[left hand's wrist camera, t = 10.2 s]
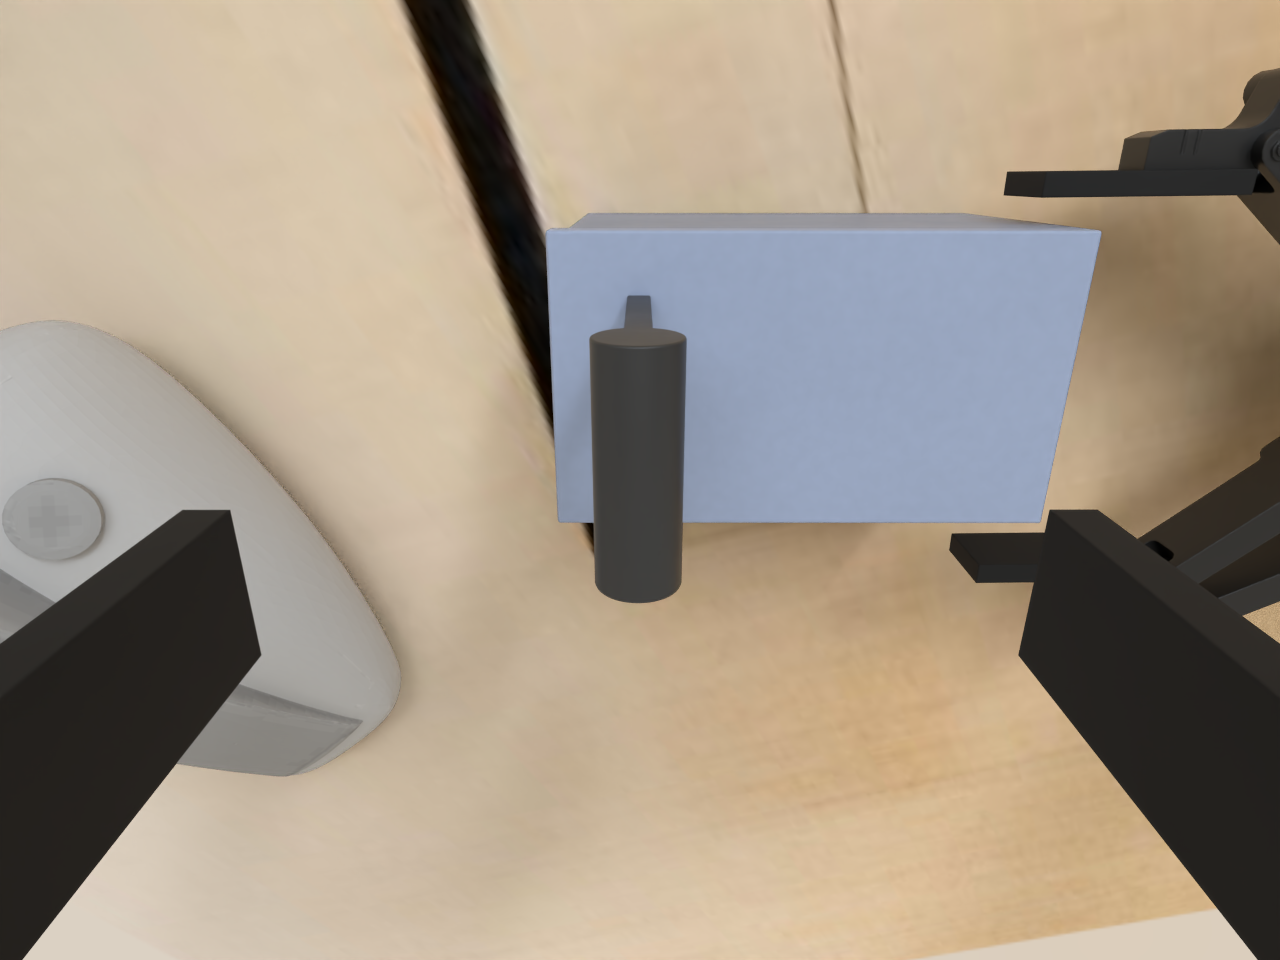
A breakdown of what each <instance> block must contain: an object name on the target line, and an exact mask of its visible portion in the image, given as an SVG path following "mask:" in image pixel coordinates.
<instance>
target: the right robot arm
mask: <svg viewBox="0 0 1280 960" xmlns="http://www.w3.org/2000/svg"><path fill="white" fill-rule="evenodd" d="M1243 100H1244V103H1245V106H1244V108H1243V109H1242V111H1241V113H1240V114H1239V116H1238V117H1237V119H1236V120H1235V121H1234V122H1233V123H1231V124H1230V125H1229V126H1227V127H1226V128H1223V129H1187V130H1186V129H1182V130H1159V131H1147V132H1140V133H1138V134H1135V135H1133V136H1130V137H1128V138H1125V140H1124V145H1123V149H1122V154H1121V159H1120V164H1119V169H1118V170H1106V171H1025V172H1007V177H1006V183H1005V190H1004V195H1008V196H1024V197H1041V198H1046V197H1128V196H1209V195H1237V196H1238V197H1239V198H1240V199H1241V201H1242V202H1243V203H1244V204H1245V205H1246V206H1247V207H1248V209H1249V210H1250V211H1251V212H1252V213H1253V214H1254V216H1255V217H1256V218H1257V219H1258V220H1259V221H1260V223H1261V224H1262V225H1263V226H1264V227H1265V228H1266V229H1267V231H1268V232H1269V233H1270V234H1271V235H1272V236H1273V238H1274V239H1275V240H1276V241H1277V242H1278V243H1279V244H1280V68H1278V69H1274V70H1268V71H1262V72H1260V73H1258V74H1256V75H1254V76H1253V77H1252V78H1251V79H1250V80H1249V82H1248V83H1247V85H1246V87H1245V89H1244V94H1243ZM1260 456H1261V458H1260V460H1259V461H1258V462H1256V463H1255V464H1253V465H1252V466H1250V467H1248V468H1247V469H1245V470H1244V471H1242V472H1241V473H1239V474H1238V475H1236V476H1234V477H1233V478H1231V479H1230V480H1228V481H1227V482H1225V483H1224V484H1222V485H1221V486H1219V487H1217V488H1216V489H1214V490H1213V491H1211V492H1210V493H1208V494H1207V495H1205V496H1204V497H1202V498H1200V499H1199V500H1197V501H1196V502H1194V503H1193V504H1191V505H1190V506H1188V507H1187V508H1185V509H1183V510H1182V511H1180V512H1179V513H1177V514H1176V515H1174V516H1173V517H1171V518H1170V519H1168V520H1166V521H1165V522H1163V523H1162V524H1160V525H1159V526H1157V527H1156V528H1154V529H1153V530H1151V531H1149V532H1148V533H1146V534H1145V535H1143V536H1142V537H1140V538H1139V539H1138V540H1139V541H1141V542H1142V543H1143V544H1145V545H1146V546H1147V547H1149V548H1150V549H1152V550H1153V551H1154V552H1156V553H1157V554H1158V555H1160V556H1161V557H1162V558H1164V559H1165V560H1167V561H1168V562H1169V563H1171V564H1172V565H1173V566H1175V567H1176V568H1177V569H1179V570H1180V571H1182V572H1183V573H1184V574H1186V575H1187V576H1188V577H1190V578H1191V579H1192V580H1194V581H1195V582H1196V583H1198V584H1199V585H1201V586H1202V587H1203V588H1205V589H1206V590H1207V591H1209V592H1210V593H1211V594H1213V595H1214V596H1216V597H1217V598H1218V599H1220V600H1221V601H1222V602H1224V603H1225V604H1226V605H1228V606H1229V607H1231V608H1232V609H1233V610H1235V611H1236V612H1237V613H1239V614H1240V615H1241V616H1243V615H1245V614H1248V613H1250V612H1253V611H1256V610H1258V609H1261V608H1263V607H1266V606H1269V605H1271V604H1274V603H1276V602H1279V601H1280V437H1278V438H1277V439H1275V440H1274V441H1272V442H1271V443H1269V444H1268V445H1266V446H1265V447H1264V448H1262V450H1261V452H1260ZM1044 534H1045V533H958V534H952V536H951V542H950V549H949V550H950V552H951V553H952V554H953V555H954V557H955V558H956V559H957V560H958V561H959V563H960V564H961V565H962V566H963V567H964V569H965V570H966V571H967V572H968V574H969V575H970V576H971V577H972V578H973V580H974V581H975V582H976V583H1005V582H1034V580H1035V576H1036V571H1037V566H1038V562H1039V557H1040V553H1041V548H1042V543H1043V539H1044Z"/></svg>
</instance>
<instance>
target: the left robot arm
mask: <svg viewBox="0 0 1280 960" xmlns="http://www.w3.org/2000/svg"><path fill="white" fill-rule="evenodd" d="M260 657H261V650H260V645H259V641H258V636H257V632H256V627H255V622H254V618H253V613H252V608H251V604H250V599H249V594H248V590H247V585H246V580H245V576H244V571H243V566H242V562H241V557H240V553H239V548H238V543H237V539H236V534H235V529H234V525H233V520H232V515H231V511H230V510H181V511H180V512H179V513H177V514H176V515H175V516H173V517H172V518H171V519H169V520H168V521H167V522H165V523H164V524H162V525H161V526H160V527H158V528H157V529H156V530H154V531H153V532H152V533H150V534H149V535H147V536H146V537H145V538H143V539H142V540H141V541H139V542H138V543H137V544H135V545H134V546H133V547H131V548H130V549H128V550H127V551H126V552H124V553H123V554H122V555H120V556H119V557H118V558H116V559H115V560H113V561H112V562H111V563H109V564H108V565H107V566H105V567H104V568H103V569H101V570H100V571H98V572H97V573H96V574H94V575H93V576H92V577H90V578H89V579H88V580H86V581H85V582H84V583H82V584H81V585H79V586H78V587H77V588H75V589H74V590H73V591H71V592H70V593H69V594H67V595H66V596H64V597H63V598H62V599H60V600H59V601H58V602H56V603H55V604H54V605H52V606H51V607H49V608H48V609H47V610H45V611H44V612H43V613H41V614H40V615H39V616H37V617H36V618H35V619H33V620H32V621H30V622H29V623H28V624H26V625H25V626H24V627H22V628H21V629H20V630H18V631H17V632H15V633H14V634H13V635H11V636H10V637H9V638H7V639H6V640H5V641H3V642H2V643H1V644H0V960H22V959H23V958H24V957H25V956H26V954H27V953H28V952H29V951H30V949H31V948H32V947H33V946H34V944H35V943H36V942H37V940H38V939H39V938H40V937H41V935H42V934H43V933H44V932H45V930H46V929H47V928H48V926H49V925H50V924H51V923H52V921H53V920H54V919H55V918H56V916H57V915H58V914H59V912H60V911H61V910H62V909H63V907H64V906H65V905H66V904H67V902H68V901H69V900H70V898H71V897H72V896H73V895H74V893H75V892H76V891H77V890H78V888H79V887H80V886H81V884H82V883H83V882H84V881H85V879H86V878H87V877H88V876H89V874H90V873H91V872H92V870H93V869H94V868H95V867H96V865H97V864H98V863H99V862H100V860H101V859H102V858H103V856H104V855H105V854H106V853H107V851H108V850H109V849H110V848H111V846H112V845H113V844H114V842H115V841H116V840H117V839H118V837H119V836H120V835H121V834H122V832H123V831H124V830H125V828H126V827H127V826H128V825H129V823H130V822H131V821H132V820H133V818H134V817H135V816H136V814H137V813H138V812H139V811H140V809H141V808H142V807H143V806H144V804H145V803H146V802H147V800H148V799H149V798H150V797H151V795H152V794H153V793H154V792H155V790H156V789H157V788H158V786H159V785H160V784H161V783H162V781H163V780H164V779H165V778H166V776H167V775H168V774H169V772H170V771H171V770H172V769H173V767H174V766H175V765H176V764H177V762H178V761H179V760H180V758H181V757H182V756H183V755H184V753H185V752H186V751H187V750H188V748H189V747H190V746H191V744H192V743H193V742H194V741H195V739H196V738H197V737H198V736H199V734H200V733H201V732H202V730H203V729H204V728H205V727H206V725H207V724H208V723H209V722H210V720H211V719H212V718H213V716H214V715H215V714H216V713H217V711H218V710H219V709H220V708H221V706H222V705H223V704H224V702H225V701H226V700H227V699H228V697H229V696H230V695H231V694H232V692H233V691H234V690H235V688H236V687H237V686H238V685H239V683H240V682H241V681H242V680H243V678H244V677H245V676H246V674H247V673H248V672H249V671H250V669H251V668H252V667H253V666H254V664H255V663H256V662H257V660H258V659H259V658H260ZM1019 657H1020V658H1021V659H1022V660H1023V662H1024V663H1025V664H1026V666H1027V667H1028V668H1029V669H1030V671H1031V672H1032V673H1033V674H1034V676H1035V677H1036V678H1037V680H1038V681H1039V682H1040V683H1041V685H1042V686H1043V687H1044V688H1045V690H1046V691H1047V692H1048V694H1049V695H1050V696H1051V697H1052V699H1053V700H1054V701H1055V702H1056V704H1057V705H1058V706H1059V708H1060V709H1061V710H1062V711H1063V713H1064V714H1065V715H1066V716H1067V718H1068V719H1069V720H1070V722H1071V723H1072V724H1073V725H1074V727H1075V728H1076V729H1077V730H1078V732H1079V733H1080V734H1081V736H1082V737H1083V738H1084V739H1085V741H1086V742H1087V743H1088V744H1089V746H1090V747H1091V748H1092V750H1093V751H1094V752H1095V753H1096V755H1097V756H1098V757H1099V758H1100V760H1101V761H1102V762H1103V764H1104V765H1105V766H1106V767H1107V769H1108V770H1109V771H1110V772H1111V774H1112V775H1113V776H1114V778H1115V779H1116V780H1117V781H1118V783H1119V784H1120V785H1121V786H1122V788H1123V789H1124V790H1125V792H1126V793H1127V794H1128V795H1129V797H1130V798H1131V799H1132V800H1133V802H1134V803H1135V804H1136V806H1137V807H1138V808H1139V809H1140V811H1141V812H1142V813H1143V814H1144V816H1145V817H1146V818H1147V820H1148V821H1149V822H1150V823H1151V825H1152V826H1153V827H1154V828H1155V830H1156V831H1157V832H1158V834H1159V835H1160V836H1161V837H1162V839H1163V840H1164V841H1165V842H1166V844H1167V845H1168V846H1169V848H1170V849H1171V850H1172V851H1173V853H1174V854H1175V855H1176V856H1177V858H1178V859H1179V860H1180V862H1181V863H1182V864H1183V865H1184V867H1185V868H1186V869H1187V870H1188V872H1189V873H1190V874H1191V876H1192V877H1193V878H1194V879H1195V881H1196V882H1197V883H1198V884H1199V886H1200V887H1201V888H1202V890H1203V891H1204V892H1205V893H1206V895H1207V896H1208V897H1209V898H1210V900H1211V901H1212V902H1213V904H1214V905H1215V906H1216V907H1217V909H1218V910H1219V911H1220V912H1221V914H1222V915H1223V916H1224V917H1225V919H1226V920H1227V921H1228V923H1229V924H1230V925H1231V926H1232V928H1233V929H1234V930H1235V932H1236V933H1237V934H1238V935H1239V937H1240V938H1241V939H1242V940H1243V942H1244V943H1245V944H1246V946H1247V947H1248V948H1249V949H1250V951H1251V952H1252V953H1253V954H1254V956H1255V957H1256V958H1257V960H1280V644H1279V643H1278V642H1277V641H1275V640H1274V639H1273V638H1271V637H1270V636H1269V635H1267V634H1266V633H1265V632H1263V631H1262V630H1260V629H1259V628H1258V627H1256V626H1255V625H1254V624H1252V623H1251V622H1250V621H1248V620H1247V619H1245V618H1244V617H1243V616H1241V615H1240V614H1239V613H1237V612H1236V611H1235V610H1233V609H1232V608H1231V607H1229V606H1228V605H1226V604H1225V603H1224V602H1222V601H1221V600H1220V599H1218V598H1217V597H1216V596H1214V595H1213V594H1211V593H1210V592H1209V591H1207V590H1206V589H1205V588H1203V587H1202V586H1201V585H1199V584H1198V583H1196V582H1195V581H1194V580H1192V579H1191V578H1190V577H1188V576H1187V575H1186V574H1184V573H1183V572H1182V571H1180V570H1179V569H1177V568H1176V567H1175V566H1173V565H1172V564H1171V563H1169V562H1168V561H1167V560H1165V559H1164V558H1162V557H1161V556H1160V555H1158V554H1157V553H1156V552H1154V551H1153V550H1152V549H1150V548H1149V547H1147V546H1146V545H1145V544H1143V543H1142V542H1141V541H1139V540H1138V539H1137V538H1135V537H1134V536H1133V535H1131V534H1130V533H1128V532H1127V531H1126V530H1124V529H1123V528H1122V527H1120V526H1119V525H1118V524H1116V523H1115V522H1113V521H1112V520H1111V519H1109V518H1108V517H1107V516H1105V515H1104V514H1103V513H1101V512H1100V511H1099V510H1050V511H1049V515H1048V520H1047V525H1046V529H1045V534H1044V539H1043V543H1042V548H1041V553H1040V557H1039V562H1038V566H1037V571H1036V576H1035V580H1034V585H1033V590H1032V594H1031V599H1030V604H1029V608H1028V613H1027V618H1026V622H1025V627H1024V632H1023V636H1022V641H1021V645H1020V650H1019Z"/></svg>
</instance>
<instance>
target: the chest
mask: <svg viewBox="0 0 1280 960" xmlns="http://www.w3.org/2000/svg"><path fill="white" fill-rule="evenodd" d="M570 228H1077V227H1069V226H1061V225H1053V224H1045V223H1037V222H1029V221H1021V220H1013V219H1005V218H997V217H989V216H980V215H972V214H965V213H588V214H587V215H586V216H584V217H583V218H582V219H580V220H579V221H578V222H576V223H575V224H574V225H572V226H571V227H570Z"/></svg>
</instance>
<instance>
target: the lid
mask: <svg viewBox="0 0 1280 960" xmlns="http://www.w3.org/2000/svg"><path fill="white" fill-rule="evenodd" d="M1100 238H1101V231H1099V230H1093V229H1085V228H551V229H549V230H547V231H546V256H547V279H548V302H549V325H550V348H551V372H552V395H553V418H554V441H555V464H556V488H557V511H558V521H559V522H568V523H594V554H595V583H596V586H597V588H598V589H599V591H600V592H601V593H603V594H604V595H606V596H607V597H609V598H612V599H615V600H618V601H622V602H629V603H648V602H654V601H658V600H662V599H665V598H667V597H669V596H671V595H672V594H674V593H675V592H676V591H677V590H678V589H679V587H680V585H681V574H682V530H683V523H1039V522H1040V521H1041V517H1042V512H1043V507H1044V503H1045V498H1046V493H1047V489H1048V484H1049V479H1050V474H1051V470H1052V465H1053V460H1054V456H1055V451H1056V446H1057V441H1058V437H1059V432H1060V427H1061V423H1062V418H1063V413H1064V408H1065V404H1066V399H1067V394H1068V389H1069V385H1070V380H1071V375H1072V371H1073V366H1074V361H1075V356H1076V352H1077V347H1078V342H1079V338H1080V333H1081V328H1082V323H1083V319H1084V314H1085V309H1086V305H1087V300H1088V295H1089V290H1090V286H1091V281H1092V276H1093V271H1094V267H1095V262H1096V257H1097V253H1098V248H1099V243H1100Z"/></svg>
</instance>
